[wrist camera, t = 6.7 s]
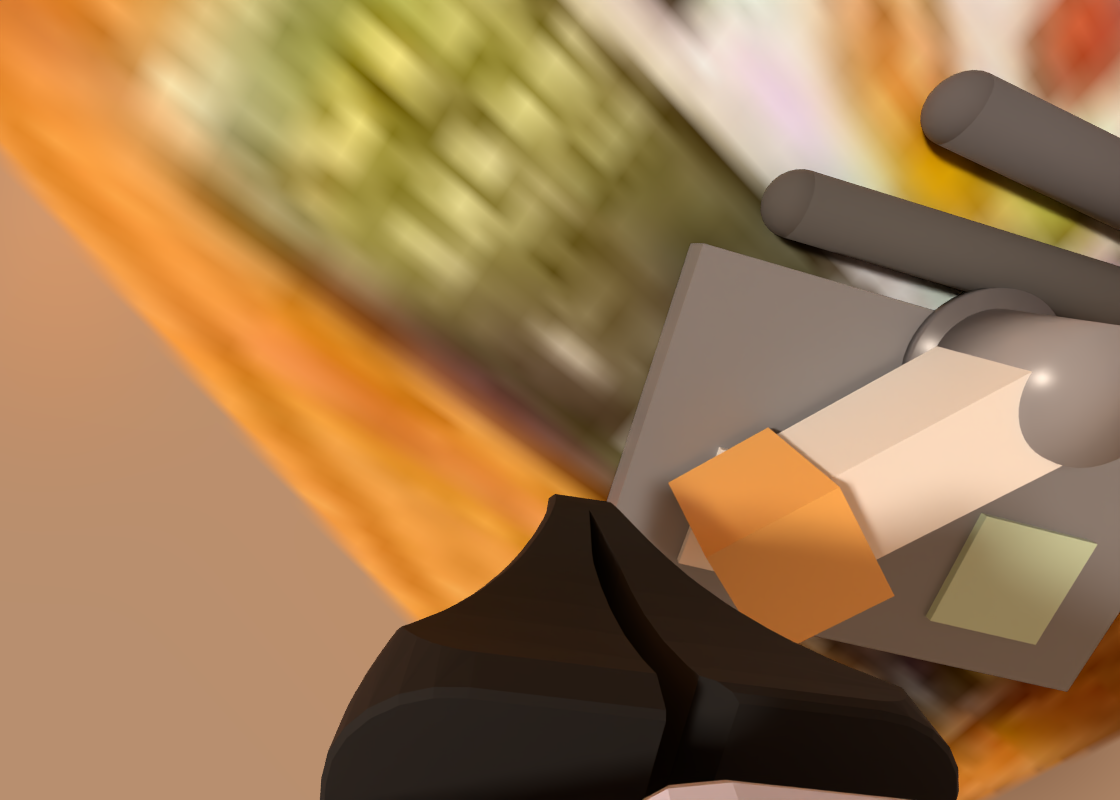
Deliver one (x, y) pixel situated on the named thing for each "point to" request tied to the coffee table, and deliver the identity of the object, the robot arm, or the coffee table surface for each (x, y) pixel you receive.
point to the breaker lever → (901, 463)
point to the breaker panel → (822, 379)
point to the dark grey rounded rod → (1027, 142)
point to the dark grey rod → (937, 245)
